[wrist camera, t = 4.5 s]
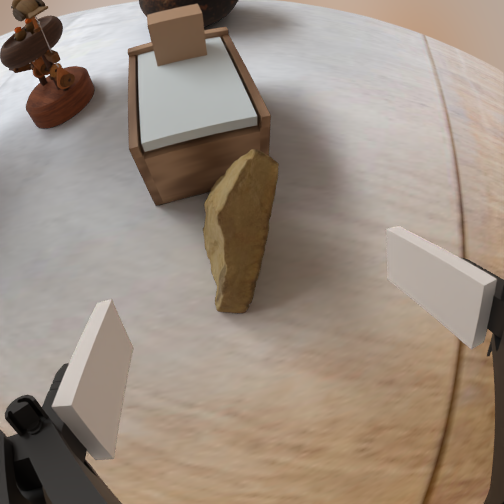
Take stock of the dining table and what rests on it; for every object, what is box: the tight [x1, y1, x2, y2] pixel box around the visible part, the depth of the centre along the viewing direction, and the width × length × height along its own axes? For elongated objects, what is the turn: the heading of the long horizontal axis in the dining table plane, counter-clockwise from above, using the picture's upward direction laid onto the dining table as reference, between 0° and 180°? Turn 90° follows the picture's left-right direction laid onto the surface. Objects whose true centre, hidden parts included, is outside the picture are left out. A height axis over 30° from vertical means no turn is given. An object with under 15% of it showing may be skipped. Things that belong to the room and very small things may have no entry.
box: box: [128, 27, 271, 206], centre depth 29 cm, size 11×16×9 cm
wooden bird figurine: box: [0, 0, 94, 128], centre depth 29 cm, size 15×11×20 cm
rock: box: [203, 149, 279, 313], centre depth 25 cm, size 11×9×10 cm
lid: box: [138, 4, 257, 152], centre depth 24 cm, size 9×15×6 cm, turn 15°
